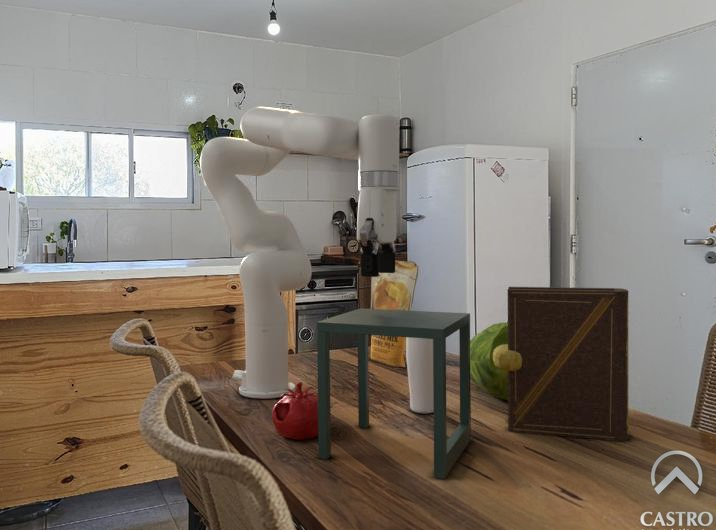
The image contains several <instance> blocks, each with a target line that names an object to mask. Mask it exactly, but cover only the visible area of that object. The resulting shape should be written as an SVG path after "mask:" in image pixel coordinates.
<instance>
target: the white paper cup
mask: <svg viewBox="0 0 716 530" xmlns="http://www.w3.org/2000/svg"><path fill="white" fill-rule="evenodd" d="M405 361H406V370H407V381H408V390H409V391H408V392H409V393H408V394H409V408H410V410H411V411H412V412H414V413H417V414H434V402H433V339H425V338H409V337H406V346H405Z"/></svg>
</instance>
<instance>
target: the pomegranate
mask: <svg viewBox="0 0 716 530" xmlns="http://www.w3.org/2000/svg"><path fill="white" fill-rule="evenodd" d="M295 386H296V390H295V392H293V391H292V390H290V389H283V390H288V391H289V392H290V393H288V394H286V393H285V394H283V395H282V396H280V397H278V399H280V400H279V401H278V402H277V403H276V404H275V405H274V406H273V407H272V409H271V410H272V411H271V419H272V423H273V425H274V427H275V430H276V432H277V433H278V434H279V435H280V436H281V437H284V438H286V439H290V440H295V441H299V440H300V441H303V440H307V439H313V438H316V437H319V436H318V392H309V390H310V389H311V390H315V388H314V386H313V387H312V386H309V387H306V388H305V389H304V390H303V389H302V387H303V382H302V381H299V382H297V383H296V384H295ZM283 396H284V397H283Z"/></svg>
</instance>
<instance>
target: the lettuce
mask: <svg viewBox="0 0 716 530" xmlns="http://www.w3.org/2000/svg"><path fill="white" fill-rule="evenodd" d="M504 344H508V321H507V322H506V321H505V322H497V323H493V324H491V325H490V326H488V327H486V328H485V329H483V330H482V331H481V332H479V333H476V334H475V335H474V336H473V337H472V338H471V339H470V381H471V382H472V383H473V384H474V385H475V386H476V387H478V388H479V389H480V390H482V391H484V392H485V393H488V394H489V395H491V396H493V397H495V398H499V399H502V400H504V401H507V402H508V371H506V370H502V369H500V368H498V367H497V366H496V365H495V364H494V361H493V352H494V349H495V348H496V347H498V346H500V345H504Z"/></svg>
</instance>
